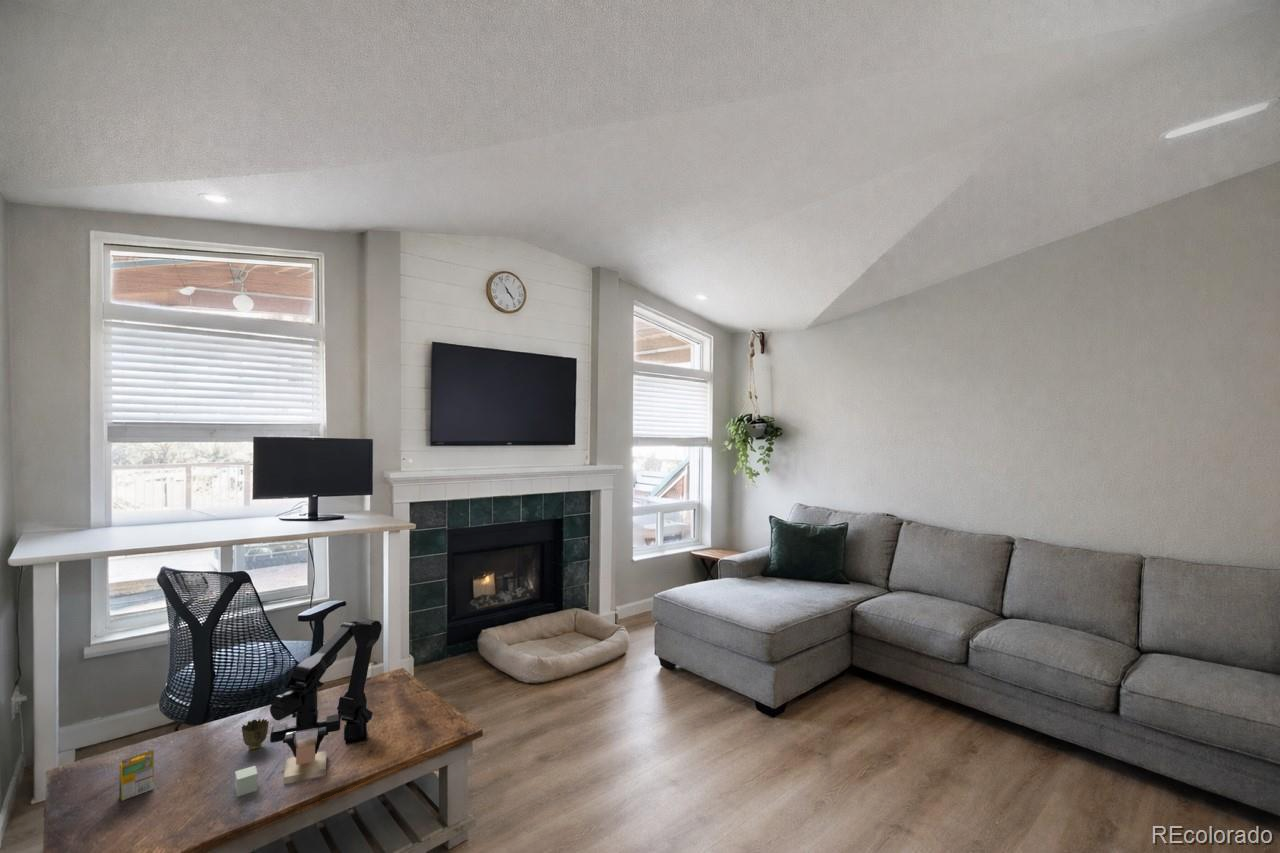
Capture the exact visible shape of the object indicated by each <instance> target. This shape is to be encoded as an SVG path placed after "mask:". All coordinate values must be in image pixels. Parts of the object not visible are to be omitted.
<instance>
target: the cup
mask: <svg viewBox="0 0 1280 853" xmlns="http://www.w3.org/2000/svg"><path fill="white" fill-rule="evenodd" d="M269 725H270V724H269V720H267V719H266V718H263V719H261V718H259V719H258V720H257V719H254V718H253V719H252V720H251V721H250V720H248V722H247V723H246V724H242V726H241V733H242V740H243V743H244V744H245V745H246V746H248V747H247V749H248V750H249V751H257V750H259V749H261V747H262V745H263V744H262V743H263V742H264V741H265V740H266V739H267V736H268V730H269Z"/></svg>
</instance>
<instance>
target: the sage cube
mask: <svg viewBox="0 0 1280 853" xmlns="http://www.w3.org/2000/svg"><path fill="white" fill-rule="evenodd" d="M258 774H259V773H258V770H257V766H256V765H252V766H249V767H245V768H243V769H238V770H235V772H234V790H235V794H236V797H241V796H244V795H247V794H250V793H253V792H256V791H258V777H259V775H258Z"/></svg>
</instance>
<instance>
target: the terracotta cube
mask: <svg viewBox="0 0 1280 853" xmlns="http://www.w3.org/2000/svg"><path fill="white" fill-rule="evenodd" d="M316 740H317V736H315V737H309V738H303V739H299V740H297V741H296V743H297V747H296V765H298V764H303V763H308V762H313V761H315V756H316V754H315V747H316Z"/></svg>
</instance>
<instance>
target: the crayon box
mask: <svg viewBox="0 0 1280 853" xmlns="http://www.w3.org/2000/svg"><path fill="white" fill-rule="evenodd" d="M154 750H155V749H152V750H148V751H145V752H142V753H139V754H136V755H133V756H130V757H127V758H124V759H121V762H119V767H118V768H119V769H118V770H119V791H118V792H119V793H118V796H119V797H118V798H119V799H120V801H122V802H123V801H125V800H127V799H131V798H133V797H136V796H138V795H140V794H144V793H147V792H150V791H153V790H154V789H155V788H154V787H155V786H154V784H155V783H154V782H155V781H154V780H155V779H154V778H155V776H154V772H155V767H154V766H155V765H154V764H155V763H154V762H155V759H154V755H155V754H154Z"/></svg>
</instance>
